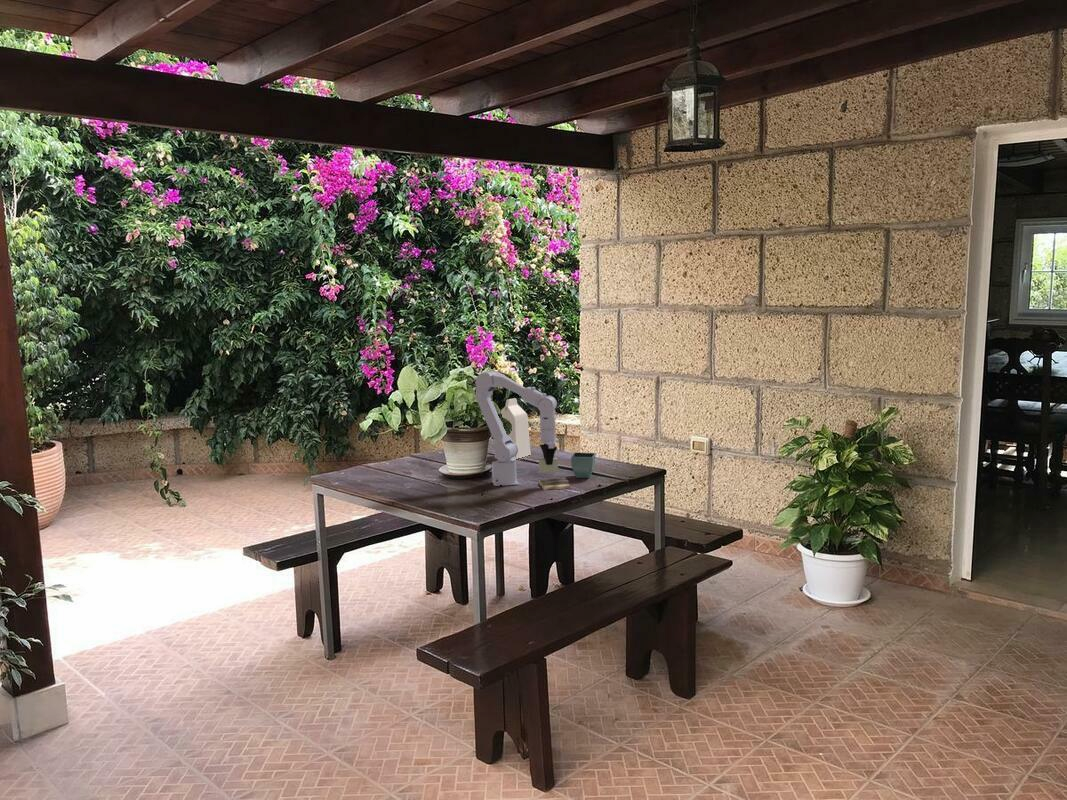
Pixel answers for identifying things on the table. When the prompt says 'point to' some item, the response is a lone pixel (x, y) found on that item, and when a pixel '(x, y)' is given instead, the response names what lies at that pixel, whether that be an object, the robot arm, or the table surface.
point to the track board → (554, 483)
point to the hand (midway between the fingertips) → (548, 463)
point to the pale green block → (548, 466)
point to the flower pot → (583, 464)
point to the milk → (518, 426)
